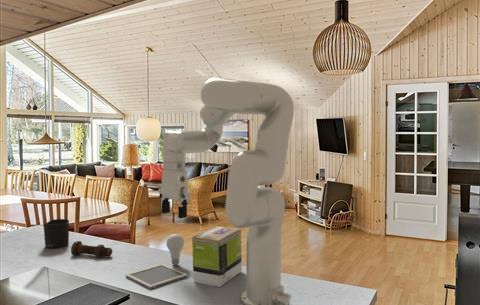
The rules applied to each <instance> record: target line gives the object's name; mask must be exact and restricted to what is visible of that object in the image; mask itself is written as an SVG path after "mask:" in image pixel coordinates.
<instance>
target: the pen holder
mask: <svg viewBox="0 0 480 305" xmlns="http://www.w3.org/2000/svg"><path fill="white" fill-rule="evenodd" d="M69 233H70V220H69V219H66V218H58V219H57V218H56V219H51V220H49V221H47V222H46V223H45V222H44V223H43V236H44V247H45V248H46V249H50V250H56V249H62V248H66V247H67V246H68V245H69V241H70V236H69V235H70V234H69Z"/></svg>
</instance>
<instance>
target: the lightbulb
mask: <svg viewBox="0 0 480 305" xmlns="http://www.w3.org/2000/svg"><path fill="white" fill-rule="evenodd" d="M184 245H185V239H184V237H183V236H182V235H181V234H178V233H172V234H170V235H169V236H168V237H167V239H166V247H167V250H168V251H169V253H170V259H171V264H172V265H174V266H177V265H179V263H180V258H181V252H182V250H183V248H184Z"/></svg>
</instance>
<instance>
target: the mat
mask: <svg viewBox="0 0 480 305" xmlns="http://www.w3.org/2000/svg"><path fill="white" fill-rule="evenodd" d="M184 277H186V278H188V273H185V272H183V271H180V270H178V269H176V268H174V267H171V266H168V265H166V264H164V263H161V264H157V265H154V266H153V265H152V266H151V267H148V268H143V269H140V270H137V271H133V272H130V273H126V274H125V278H127V279H128V280H130V281H133V282H135V283H136V284H138V285H140V286H142V287H144V288H146V287H147V288H146V289H148V290H152V288H153V289H155V288H154V287H156V288H158V287H157V286H159V287H161V286H160V285H162V286H164V285H163V284H165V285H167V284H166V283H168V284H170V283H169V282H171V283H173V282H172V281H174V282H176V281H175V280H177V281H179V280H178V279H180V280H182V279H181V278H183V279H185V278H184Z"/></svg>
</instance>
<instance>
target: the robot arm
mask: <svg viewBox="0 0 480 305" xmlns="http://www.w3.org/2000/svg"><path fill="white" fill-rule="evenodd" d="M200 99H201V101H202V103H203V105H202V107H201V108H200V110H199V117H200V120H201V121H202V123H203V124H204V125H205V127H204V128H202V129H201V130H195V129H194V130H166V131H165V130H164V132H163V134H162V174H161V175H162V177H161V186H160V187H159V188H158V193H159V198H160V203H161V214H168V213H169V214H170V212H171V201H169V200H174V201H177V203H178V205H179V206H178V208H177V209H178V213H177V217H178V219H183V218H184V219H185V218H187V217H188V214H187V212H188V206H189V203H190V200H191V197H192V195H191V192H189V183H188V182H189V181H188V174H187V171H186V154H197V153H198V154H199V153H205V152H208V151H210V150H211V149H212V148H213V147H214V146H216V144H217V143H218V142H219V141H220V140H221V138H222V135H223V132H224V125H225V124H226V123H227V122H228V121H229V120H230V119H231V118H233V116H234V115H236V114H238V115H239V114H240V115H263V116H264V117H265V118H264V119H263V120H262V122H261V123H260V126H259V127H258V130H257V134H256V143H255V147H254V149H248V150H243V151H242V150H241V151H240V152H239V153H237V154H235V156H234V158H233V159H232V161H231V163H230V167H229V172H228V182H227V190H226V198H225V199H226V200H225V213H226V217H227V220H228V221H229V223H230V224H231V225H232V226H233V227H235V228H237V229H244V228H248V230H247V235H246V290H244V291H242V293H241V295H240V300H241V303H242V304H243V305H289V304H290V300H291V298H292V295H291V294H289V293H285V288H284V287H285V286H284V285H282V284H281V283H282V277H281V276H282V275H281V273H282V272H281V270H282V229H283V228H282V227H283V222H284V217H285V216H284V215H285V211H286V204H285V199H284V196H283V195H282V193H281V191H279V190H277V189H276V188H273V187H272V186H271V187H269V186H266V185H273V184H275V183H277V182H280V181H281V180H282V179H283V177H284V174H285V171H286V163H287V156H288V149H289V139H290V133H291V129H292V124H293V119H294V115H295V114H294V113H295V107H294V102H293V99H292V97H291V95H290V94H289V92H288V91H287V90H286V89H285V88H282V87H281V86H278V85H277V84H272V83H267V82H257V81H247V80H237V79H232V78H222V77H211V78H209V79H208V80H206V81H205V82H204V83H203V85H202V87H201V90H200ZM259 186H261V187H259ZM262 186H264V187H262Z"/></svg>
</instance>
